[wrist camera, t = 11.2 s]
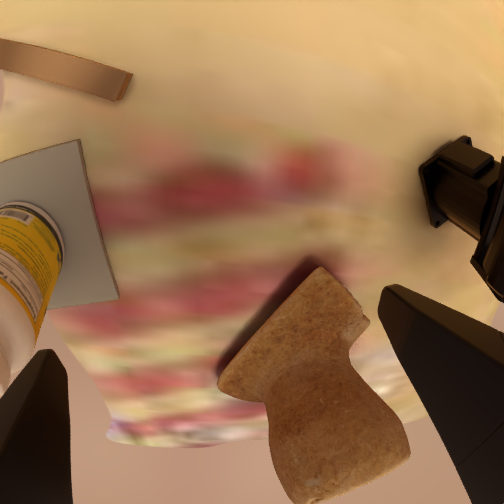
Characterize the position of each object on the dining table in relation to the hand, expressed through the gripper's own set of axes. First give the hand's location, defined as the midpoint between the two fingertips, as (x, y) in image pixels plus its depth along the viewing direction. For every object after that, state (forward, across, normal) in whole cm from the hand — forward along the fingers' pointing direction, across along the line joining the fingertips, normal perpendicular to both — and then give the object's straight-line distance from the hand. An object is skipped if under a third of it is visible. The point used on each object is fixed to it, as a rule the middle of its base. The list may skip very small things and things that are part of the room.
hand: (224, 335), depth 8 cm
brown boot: (+13, -8, +16) cm, 22 cm away
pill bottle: (+13, +11, +2) cm, 17 cm away
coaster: (+13, +11, +2) cm, 17 cm away
